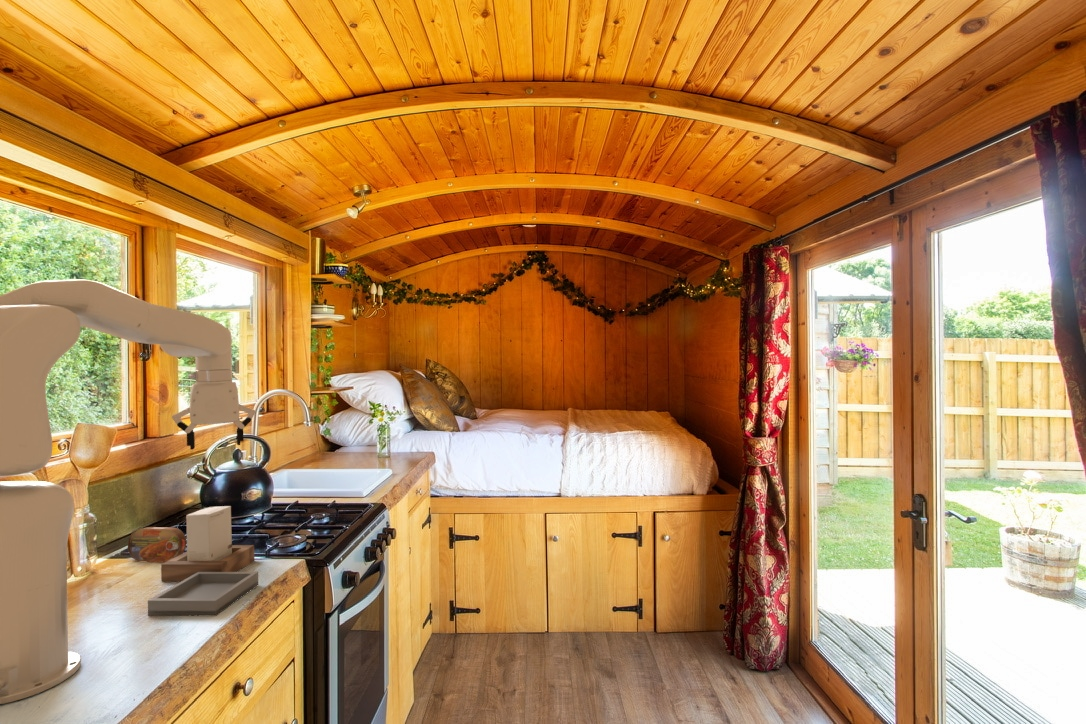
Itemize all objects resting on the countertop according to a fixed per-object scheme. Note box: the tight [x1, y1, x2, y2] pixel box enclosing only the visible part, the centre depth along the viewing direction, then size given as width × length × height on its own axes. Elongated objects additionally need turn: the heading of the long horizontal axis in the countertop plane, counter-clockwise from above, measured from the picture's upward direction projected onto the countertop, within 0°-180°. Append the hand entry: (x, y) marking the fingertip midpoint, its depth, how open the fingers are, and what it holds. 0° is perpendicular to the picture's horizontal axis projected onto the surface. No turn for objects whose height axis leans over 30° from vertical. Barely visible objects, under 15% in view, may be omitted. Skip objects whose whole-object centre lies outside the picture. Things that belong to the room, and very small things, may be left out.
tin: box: [127, 526, 187, 563], centre depth 132 cm, size 15×3×8 cm, turn 82°
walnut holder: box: [160, 544, 255, 582], centre depth 124 cm, size 12×14×4 cm
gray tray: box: [147, 571, 259, 617], centre depth 109 cm, size 14×14×3 cm
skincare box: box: [185, 505, 233, 561], centre depth 124 cm, size 8×6×15 cm
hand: (216, 446), depth 126 cm, fingers open, 9 cm apart
